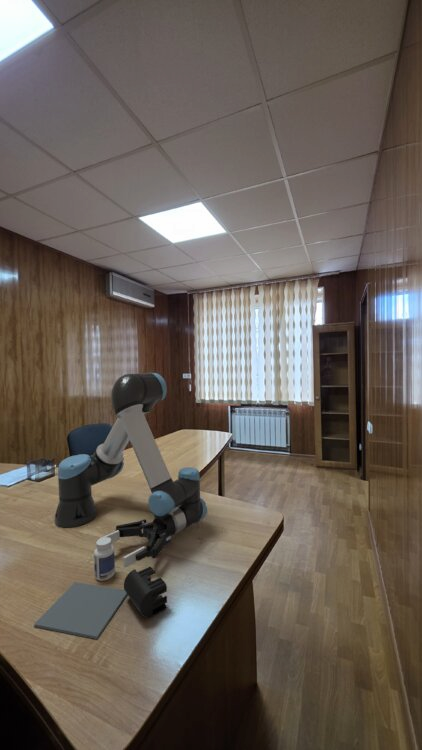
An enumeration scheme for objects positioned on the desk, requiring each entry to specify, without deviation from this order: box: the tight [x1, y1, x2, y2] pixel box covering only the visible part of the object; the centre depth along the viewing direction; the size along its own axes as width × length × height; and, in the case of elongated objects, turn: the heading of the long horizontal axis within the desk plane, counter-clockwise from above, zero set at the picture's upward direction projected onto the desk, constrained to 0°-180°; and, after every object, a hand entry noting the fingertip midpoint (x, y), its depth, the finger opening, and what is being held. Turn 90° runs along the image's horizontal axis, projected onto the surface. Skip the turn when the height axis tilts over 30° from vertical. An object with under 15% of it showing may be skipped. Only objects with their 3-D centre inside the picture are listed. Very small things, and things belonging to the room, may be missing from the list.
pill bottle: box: [93, 537, 116, 582], centre depth 87 cm, size 5×5×10 cm
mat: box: [33, 581, 128, 640], centre depth 75 cm, size 16×14×1 cm
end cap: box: [123, 566, 168, 619], centre depth 76 cm, size 10×7×7 cm
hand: (111, 552), depth 88 cm, fingers open, 13 cm apart
